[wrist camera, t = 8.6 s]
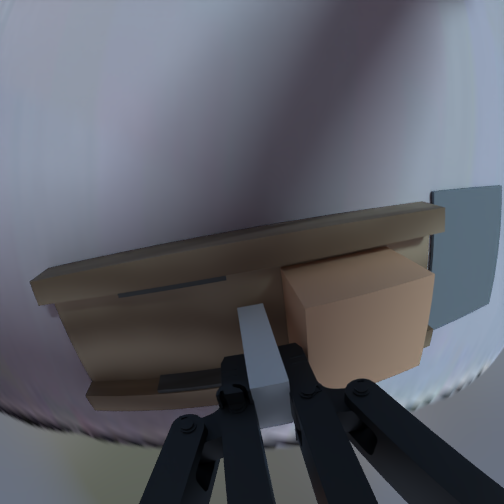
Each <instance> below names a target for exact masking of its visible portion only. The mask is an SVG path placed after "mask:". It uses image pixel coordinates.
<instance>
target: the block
mask: <svg viewBox="0 0 504 504" xmlns="http://www.w3.org/2000/svg"><path fill="white" fill-rule="evenodd" d="M280 270H281V278H282V286H283V295H284V303H285V312H286V321H287V330H288V339H289V344H290V343H297V344H298V345H299V346H301V347H302V349H303V351H304V353H305V356H306V357H307V360H308V362H309V364H310V366H311V368H312V370H313V373H314V375H315V377H316V379H317V381H318V382H319V383H320V384H322V385H323V386H324V387H327V388H333V389H339V388H346V386H347V384H348V383H350V382H351V381H353V380H356V379H362V378H364V379H369V380H371V381H373V382H374V383H376V382H379V381H382V380H384V379H387V378H390V377H392V376H395V375H397V374H400V373H402V372H404V371H407V370H409V369H411V368H414V367H416V366H418V365H419V364H420V360H421V355H422V351H423V347H424V342H425V337H426V332H427V327H428V321H429V315H430V309H431V303H432V296H433V288H434V279H435V274H434V273H432V272H431V271H429V270H427V269H426V268H424V267H422V266H420V265H419V264H417V263H415V262H413V261H412V260H410V259H408V258H406V257H404V256H403V255H401V254H399V253H397V252H395V251H394V250H392V249H390V248H388V247H386V246H385V247H380V248H376V249H371V250H366V251H361V252H356V253H351V254H346V255H342V256H337V257H332V258H327V259H322V260H316V261H311V262H306V263H301V264H296V265H291V266H286V267H280Z"/></svg>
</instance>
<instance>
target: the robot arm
mask: <svg viewBox="0 0 504 504" xmlns="http://www.w3.org/2000/svg"><path fill="white" fill-rule="evenodd" d="M237 311H238V318H239V324H240V331H241V337H242V343H243V350H244V354H238V355H232V356H226V357H224V359H223V361H222V362H221V378H222V379H221V381H222V386H221V387H220V388H219V389H218V390H217V392H216V398H217V401H218V404H219V407H220V408H219V409H218V410H217V411H216V412H214V413H213V414H211V415H208V416H206V417H203V418H200V417H199V416H198V415H194V414H186V415H183V416H180V417H179V418H177V419H176V420H175V421H174V422H173V424H172V426H171V428H170V431H169V433H168V435H167V438H166V440H165V443H164V445H163V447H162V450H161V452H160V455H159V457H158V460H157V462H156V464H155V467H154V469H153V472H152V474H151V476H150V479H149V481H148V483H147V486H146V488H145V491H144V493H143V496H142V498H141V501H140V503H139V504H209V502H210V498H211V494H212V490H213V486H214V482H215V478H216V474H217V470H218V466H219V462H220V459H221V458H223V457H224V470H225V481H226V493H227V504H276V502H275V498H274V493H273V488H272V484H271V479H270V474H269V470H268V464H267V459H266V455H265V449H264V444H263V439H262V435H261V431H260V429H263V428H268V427H273V426H278V425H283V424H288V423H292V422H293V421H294V424H295V431H296V441H297V440H298V442H299V445H300V448H301V451H302V455H303V458H304V461H305V464H306V468H307V471H308V474H309V477H310V480H311V483H312V487H313V490H314V493H315V496H316V500H317V503H318V504H378V502H377V500H376V498H375V496H374V493H373V491H372V489H371V487H370V485H369V483H368V480H367V478H366V476H365V474H364V472H363V469H362V467H361V465H360V463H359V461H358V459H357V456H356V454H355V453H354V450H353V448H352V446H351V443H352V444H353V445H354V446H355V447H356V448H357V449H358V451H359V452H360V453H361V454H362V455H363V456H364V457H365V458H366V459H367V460H368V462H369V463H370V464H371V465H372V466H373V467H374V468H375V469H376V470H377V471H378V472H379V473H380V475H382V477H383V478H384V479H385V480H386V481H387V482H388V483H389V484H390V485H391V486H392V487H393V488H394V489H395V490H396V491H397V492H398V493H399V494H400V495H401V496H402V498H403V499H404V500H405V501H406V502H407V503H408V504H504V488H503V487H501V486H500V485H499V484H497V483H496V482H495V481H494V480H492V479H491V478H490V477H488V476H487V475H486V474H485V473H483V472H482V471H481V470H480V469H478V468H477V467H476V466H475V465H473V464H472V463H471V462H469V461H468V460H467V459H466V458H464V457H463V456H462V455H461V454H459V453H458V452H457V451H456V450H455V449H453V448H452V447H451V446H450V445H448V444H447V443H446V442H445V441H444V440H442V439H441V438H440V437H439V436H438V435H436V434H435V433H434V432H433V431H431V430H430V429H429V428H428V427H427V426H425V425H424V424H423V423H422V422H421V421H419V420H418V419H417V418H416V417H415V416H413V415H412V414H411V413H410V412H409V411H407V410H406V409H405V408H404V407H403V406H401V405H400V404H399V403H398V402H397V401H396V400H394V399H393V398H392V397H391V396H390V395H388V394H387V393H386V392H385V391H384V390H383V389H381V388H380V387H379V386H378V385H377V384H376V383H374V382H373V381H371V380H369V379H364V378H362V379H356V380H353V381H351V382H350V383H348V384H347V386H346V388H339V389H333V388H327V387H324V386H323V385H322V384H320V383H319V382H318V381H317V379H316V377H315V375H314V373H313V370H312V368H311V366H310V364H309V362H308V360H307V357H306V356H305V353H304V351H303V349H302V347H301V346H299V345H298V344H297V343H290V344H286V345H281V346H277V344H276V341H275V338H274V335H273V332H272V329H271V326H270V323H269V320H268V317H267V314H266V311H265V308H264V305H263V303H261V304H256V305H250V306H245V307H239V308H237ZM350 442H351V443H350Z"/></svg>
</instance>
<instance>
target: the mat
mask: <svg viewBox="0 0 504 504" xmlns="http://www.w3.org/2000/svg"><path fill="white" fill-rule="evenodd" d="M432 204H434V205H438V206H442V207H445V232H442V233H437V234H433V235H432V238H431V257H430V270H429V271H431V272H432V273H434V274H435V279H434V288H433V296H432V303H431V309H430V315H429V321H428V325H429V326H430V327H431V328H433V330H435V329H437V328H439V327H442V326H444V325H446V324H448V323H450V322H453V321H455V320H457V319H459V318H461V317H463V316H465V315H467V314H469V313H471V312H473V311H475V310H477V309H479V308H481V307H483V306H485V305H487V304H489V301H490V296H491V291H492V286H493V281H494V275H495V269H496V263H497V255H498V247H499V238H500V225H501V205H502V186H500V185H498V186H485V187H472V188H461V189H450V190H440V191H432Z"/></svg>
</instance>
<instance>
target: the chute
mask: <svg viewBox="0 0 504 504" xmlns="http://www.w3.org/2000/svg"><path fill="white" fill-rule="evenodd" d="M442 232H445V207H442V206H438V205H434V204H430V203H426V202H415V203H407V204H400V205H393V206H386V207H379V208H372V209H365V210H358V211H351V212H345V213H338V214H332V215H325V216H319V217H313V218H306V219H300V220H294V221H288V222H282V223H276V224H270V225H264V226H258V227H253V228H247V229H241V230H235V231H230V232H224V233H219V234H213V235H208V236H202V237H197V238H192V239H186V240H181V241H176V242H170V243H165V244H160V245H155V246H150V247H145V248H140V249H135V250H130V251H125V252H120V253H115V254H111V255H106V256H101V257H96V258H92V259H87V260H82V261H78V262H73V263H68V264H64V265H59V266H55V267H51V268H48V269H46V270H45V271H44V272H42V273H41V274H40V275H38V276H37V277H35V278H34V279H33V280H31V281H30V284H31V287H32V290H33V292H34V295H35V298H36V300H37V303H38V305H39V306H40V305H47V304H55V307H56V309H57V311H58V314H59V316H60V319H61V321H62V323H63V325H64V328H65V330H66V332H67V334H68V336H69V339H70V341H71V343H72V345H73V347H74V349H75V351H76V353H77V355H78V357H79V359H80V361H81V362H82V364H83V366H84V368H85V370H86V372H87V373H88V375H89V377H90V379H91V380H92V383H91V385H90V387H89V389H88V391H87V393H86V398H87V399H88V401H89V402H90V404H91V405H92V407H93V408H94V410H97V411H150V410H169V409H183V408H194V407H203V406H212V405H219V404H218V401H217V398H216V392H217V390H218V389H219V388H220V387H221V386H222V381H221V379H222V378H221V362H222V361H223V359H224V357H226V356H232V355H238V354H244V350H243V343H242V337H241V331H240V324H239V318H238V311H237V308H239V307H245V306H250V305H256V304H261V303H263V305H264V308H265V311H266V314H267V317H268V320H269V323H270V326H271V329H272V332H273V335H274V338H275V341H276V344H277V346H281V345H286V344H289V339H288V330H287V321H286V312H285V303H284V295H283V286H282V278H281V270H280V267H286V266H291V265H296V264H301V263H306V262H311V261H316V260H322V259H327V258H332V257H337V256H342V255H346V254H351V253H356V252H361V251H366V250H371V249H376V248H380V247H385V246H386V247H388V248H390V249H392V250H394V251H395V252H397V253H399V254H401V255H403V256H404V257H406V258H408V259H410V260H412V261H413V262H415V263H417V264H419V265H420V266H422V267H424V268H426V269H427V264H428V248H429V235H433V234H437V233H442ZM432 332H433V328H431V327H430V326H429V325H428V327H427V332H426V337H425V342H424V347H423V348H425V347H427V346H430V342H431V337H432Z"/></svg>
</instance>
